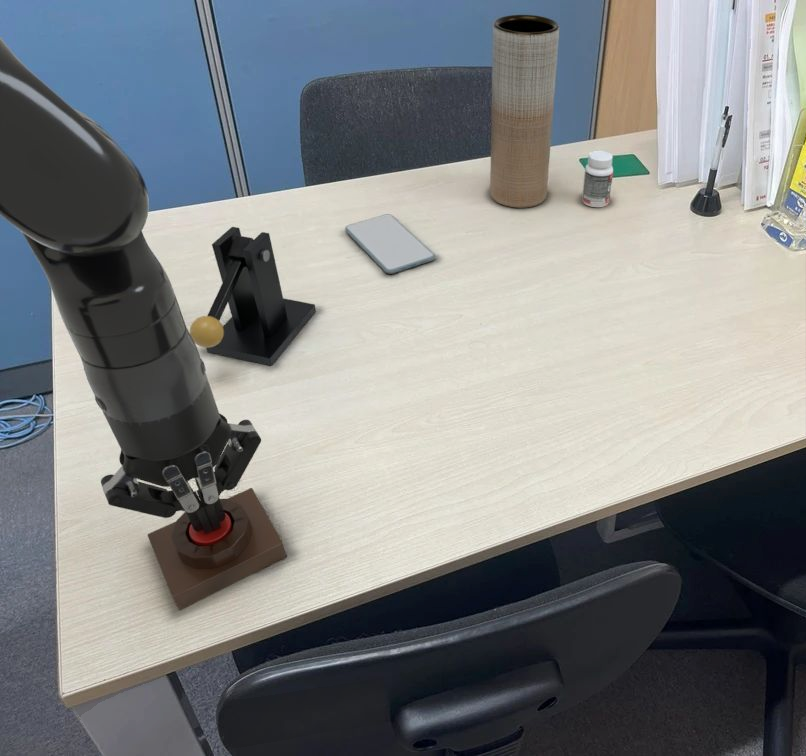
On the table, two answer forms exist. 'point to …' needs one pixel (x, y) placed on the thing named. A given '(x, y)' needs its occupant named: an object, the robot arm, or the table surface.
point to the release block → (217, 551)
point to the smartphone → (389, 243)
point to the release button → (211, 534)
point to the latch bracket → (257, 304)
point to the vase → (522, 108)
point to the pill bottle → (598, 179)
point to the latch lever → (221, 299)
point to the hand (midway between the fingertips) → (210, 524)
